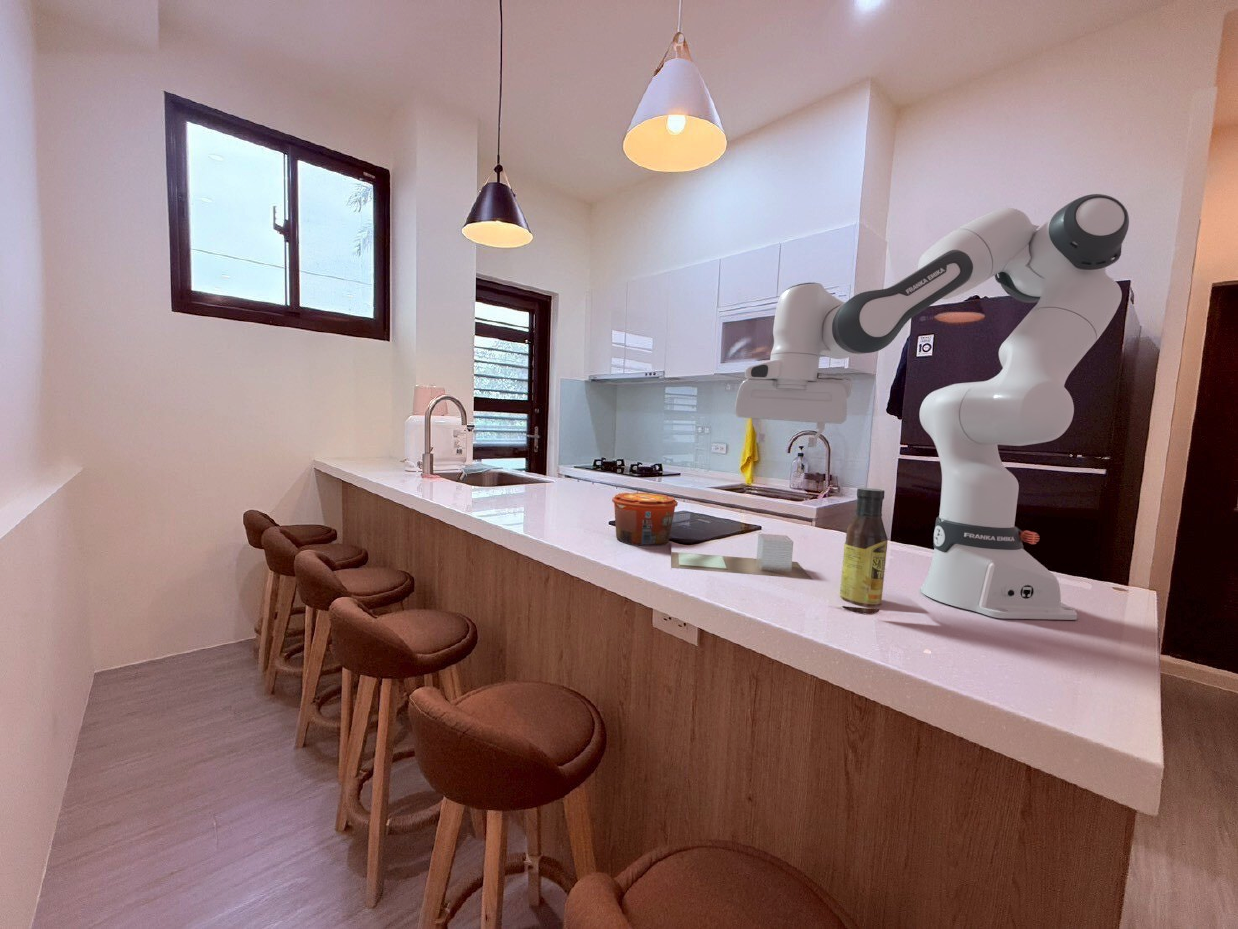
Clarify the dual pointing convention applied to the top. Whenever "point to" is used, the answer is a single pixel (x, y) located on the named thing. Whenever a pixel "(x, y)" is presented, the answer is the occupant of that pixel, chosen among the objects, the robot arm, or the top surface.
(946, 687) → the top surface
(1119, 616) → the top surface
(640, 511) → the food container
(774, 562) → the white cube
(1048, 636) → the top surface
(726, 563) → the post board
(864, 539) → the sauce bottle
